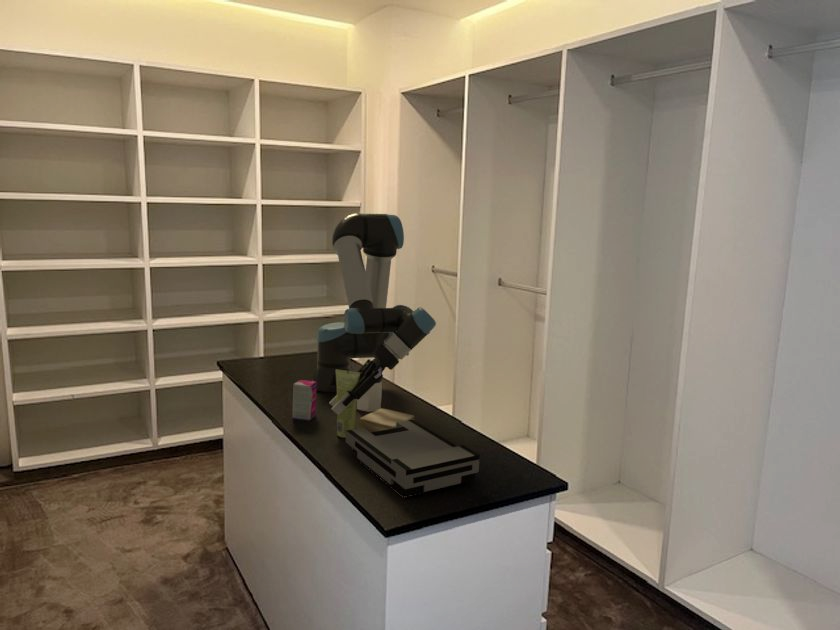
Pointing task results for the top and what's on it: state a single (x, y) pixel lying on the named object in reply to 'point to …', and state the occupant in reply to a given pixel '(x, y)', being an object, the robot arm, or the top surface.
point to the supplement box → (304, 400)
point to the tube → (344, 383)
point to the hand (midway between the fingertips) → (333, 408)
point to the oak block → (382, 420)
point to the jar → (371, 398)
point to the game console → (413, 457)
